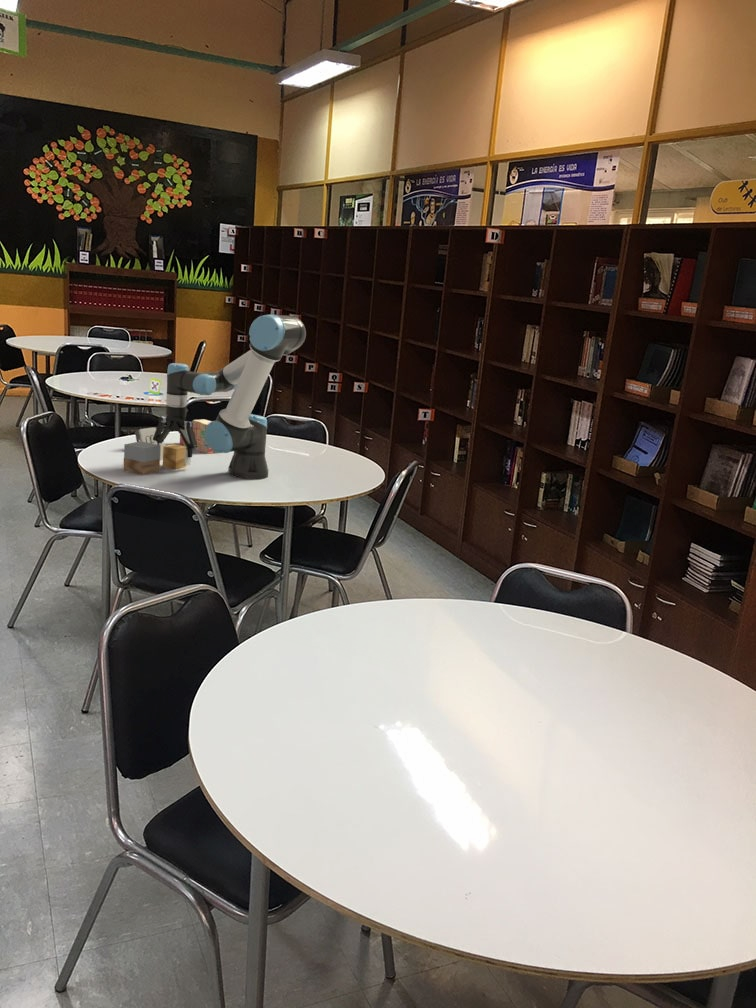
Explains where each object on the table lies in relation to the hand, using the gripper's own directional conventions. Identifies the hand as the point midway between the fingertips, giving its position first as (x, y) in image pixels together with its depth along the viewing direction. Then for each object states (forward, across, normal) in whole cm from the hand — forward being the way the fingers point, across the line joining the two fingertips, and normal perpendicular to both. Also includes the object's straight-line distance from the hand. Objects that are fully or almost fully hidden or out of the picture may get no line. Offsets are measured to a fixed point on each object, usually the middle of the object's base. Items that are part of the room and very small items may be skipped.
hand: (174, 462), depth 313 cm
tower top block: (-3, +4, +14) cm, 15 cm away
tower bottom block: (+2, +4, +14) cm, 15 cm away
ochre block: (+2, 0, 0) cm, 2 cm away
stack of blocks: (+2, +14, -36) cm, 39 cm away
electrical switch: (+2, +26, -16) cm, 31 cm away
